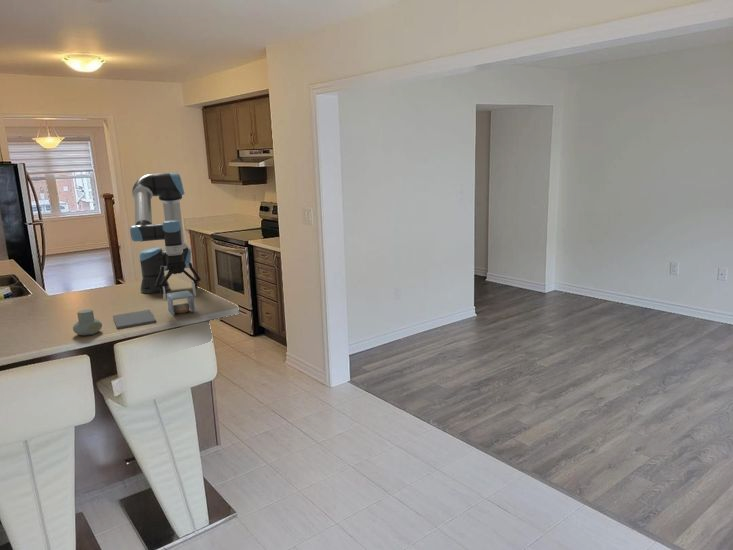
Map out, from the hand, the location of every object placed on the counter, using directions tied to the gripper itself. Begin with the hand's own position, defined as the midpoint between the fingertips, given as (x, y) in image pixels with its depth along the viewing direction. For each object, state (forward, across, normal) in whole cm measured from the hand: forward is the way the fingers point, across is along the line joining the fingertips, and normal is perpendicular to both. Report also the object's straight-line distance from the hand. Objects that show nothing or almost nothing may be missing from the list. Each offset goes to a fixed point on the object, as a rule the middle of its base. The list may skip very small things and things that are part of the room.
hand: (180, 298), depth 247 cm
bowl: (+7, 0, 0) cm, 7 cm away
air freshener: (+7, -40, -9) cm, 41 cm away
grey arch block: (+7, 0, 0) cm, 7 cm away
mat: (+7, -21, 0) cm, 22 cm away
